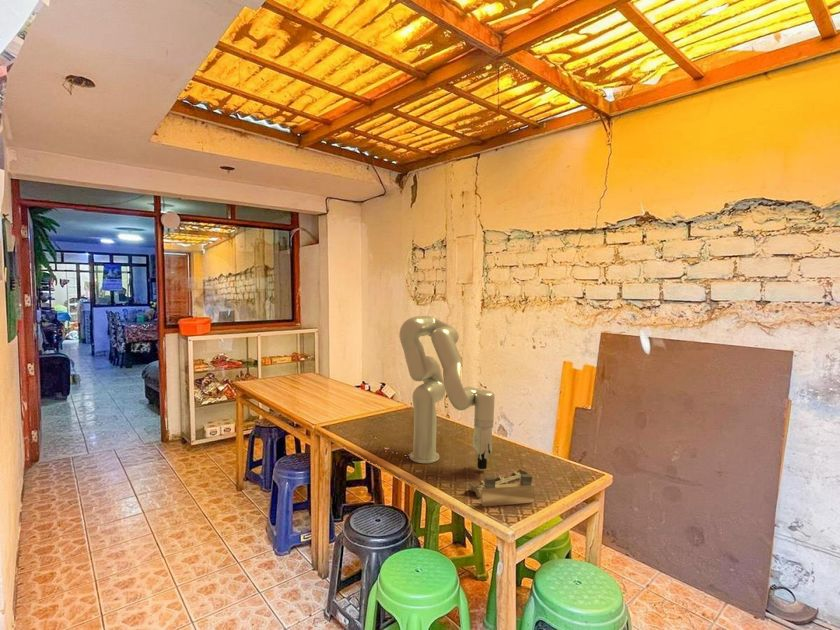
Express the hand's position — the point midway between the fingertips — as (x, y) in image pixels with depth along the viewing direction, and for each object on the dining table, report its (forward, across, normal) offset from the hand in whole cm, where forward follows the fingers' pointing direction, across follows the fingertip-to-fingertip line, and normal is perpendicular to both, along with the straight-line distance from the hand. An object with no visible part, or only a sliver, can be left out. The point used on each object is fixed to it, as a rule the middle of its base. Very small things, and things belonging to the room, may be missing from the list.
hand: (481, 468), depth 166 cm
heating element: (+2, +12, +3) cm, 13 cm away
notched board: (+1, +25, 0) cm, 25 cm away
